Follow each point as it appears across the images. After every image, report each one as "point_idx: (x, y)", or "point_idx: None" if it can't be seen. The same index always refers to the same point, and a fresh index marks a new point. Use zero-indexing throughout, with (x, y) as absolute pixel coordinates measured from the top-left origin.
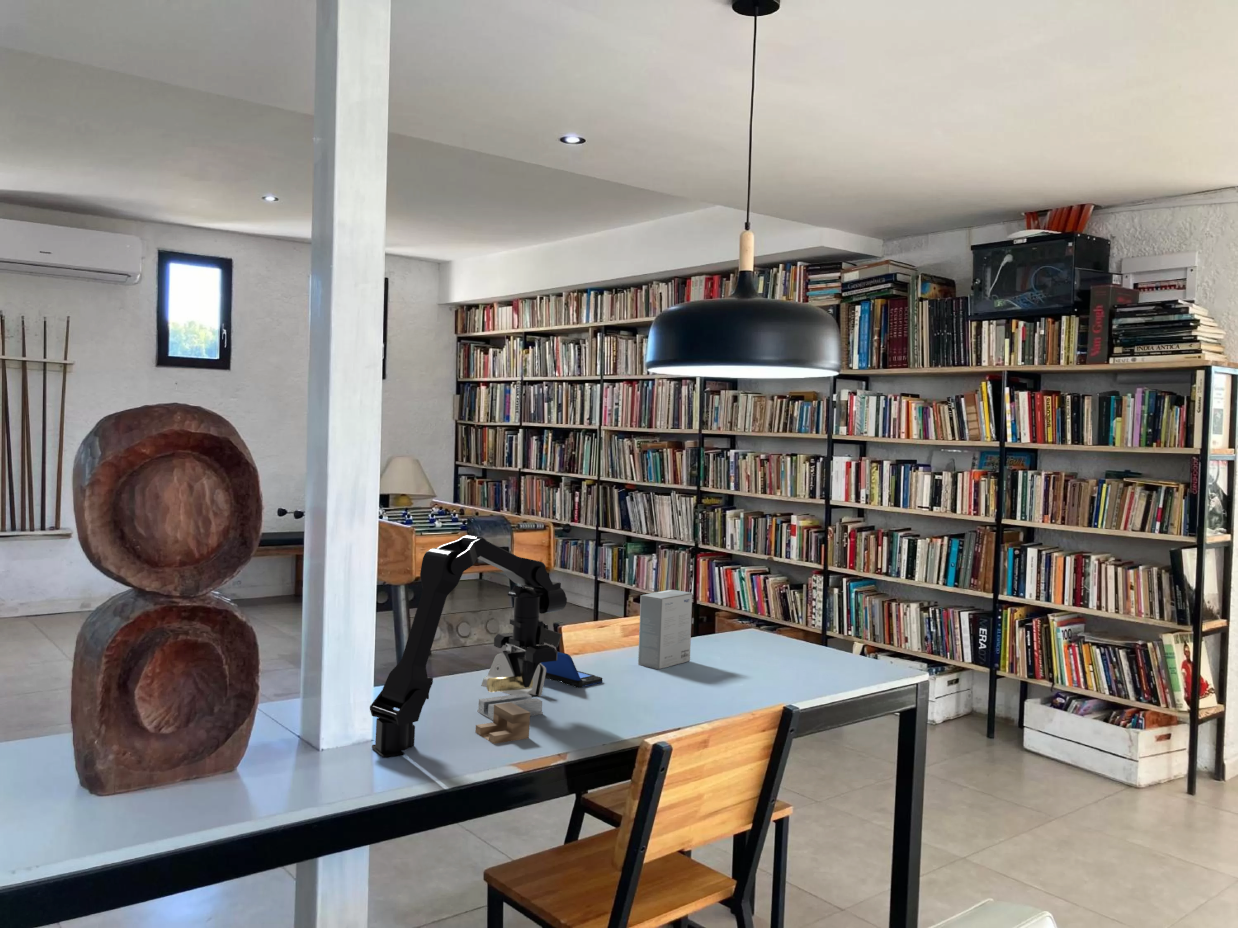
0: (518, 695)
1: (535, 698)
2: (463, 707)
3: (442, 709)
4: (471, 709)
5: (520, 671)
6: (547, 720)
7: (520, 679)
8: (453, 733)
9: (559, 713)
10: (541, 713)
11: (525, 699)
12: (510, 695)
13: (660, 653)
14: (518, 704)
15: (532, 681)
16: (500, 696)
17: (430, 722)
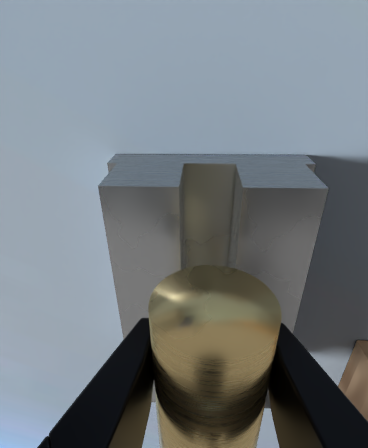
0: (138, 252)
1: (247, 196)
2: (41, 339)
3: (50, 384)
4: (71, 331)
5: (127, 433)
6: (362, 156)
7: (254, 426)
8: (270, 434)
9: (302, 2)
10: (310, 168)
11: (181, 222)
12: (122, 286)
13: None
14: (294, 325)
15: (280, 322)
16: (125, 329)
17: (158, 435)
